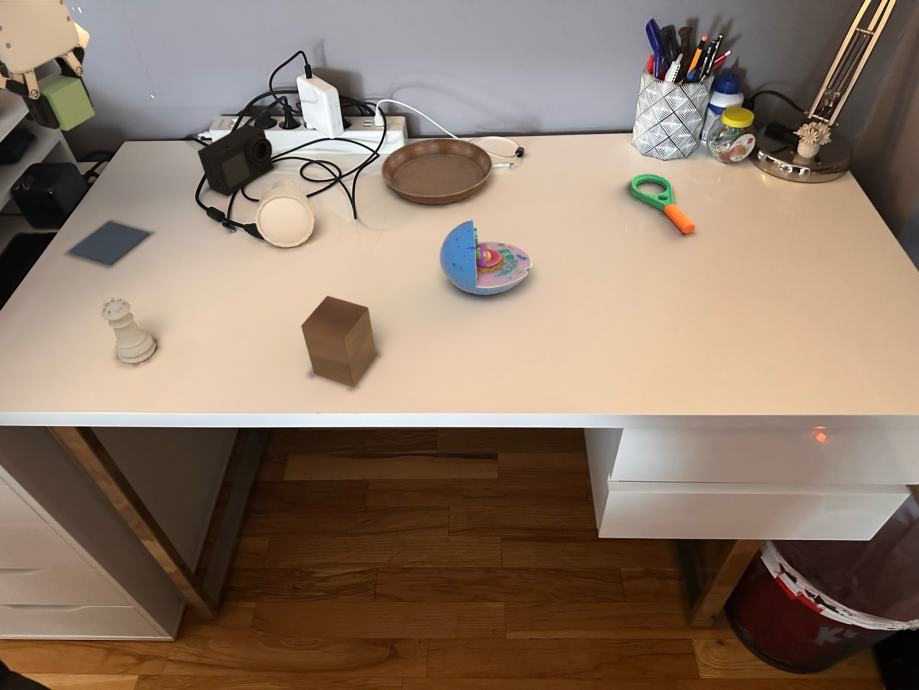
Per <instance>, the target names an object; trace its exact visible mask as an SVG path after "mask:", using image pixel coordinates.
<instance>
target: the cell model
mask: <svg viewBox="0 0 919 690" xmlns="http://www.w3.org/2000/svg"><path fill="white" fill-rule="evenodd" d="M474 223H475V222H474V220H473V219H470V220H467V221H463V222H462V223H460V224H458V225H457V226H456V227H454V228H452V229H451V230H450V232H448V234H447V235H446V237H445V238H444V239H443V241H442V244H441V246H440V249H439V264H440V267H441V270H442V272H443V274H444V275H445V277H446V278H447V279H448V280H449V282H450V283H451V284H452V285H454V286H455V287H456V288H458V289H460V290H462V291H463V292H467V293H468V294H469V293H470V294H474V295H479V296H481V295H482V296H489V295H496V294H499V293H503V292H506V291H508V290H510V289H512V288H514V287H515V286H517V285H518V284H520V283H521V282H522V281H523V280H524V279H526V277H527V276H528V274H529V272H530V270H531V268H532V264H533V261H532V258H531V256H530V255H529V253H527V252H526V251H525V250H524V249H523V248H524V247H522V246H519V247H518V246H517V245H513V244H510V243H505V242H499V241H479V232H478V227H475V225H474Z"/></svg>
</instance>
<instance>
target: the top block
mask: <svg viewBox="0 0 919 690" xmlns="http://www.w3.org/2000/svg"><path fill="white" fill-rule="evenodd" d="M36 81H37V84H38V88H39V92H40V95H44V96H46V97H47V99H48V101H49V103H50V105H51V107H52V109H53V111H54V113H55V116H56V118H57V120H58V122H59V124H60V127H59V128H58V129H57V130H62V131H66V132H68V131H70V130H72V129H73V128H75V127H77V126H78V125H80V124H82V123H84V122H86V121H87V120H89V119H91V118H93V117H94V116H96V113H95V109H94V107H93V108H92V106H91V103H90V101H89V99H88V97H87V94H86V92H85V90H84V87H83V85H82V83H81V81H80V79H77V78H72V77H67V76H62V75H59V74H58V73H51V74H49V75H47V76H45V77H43V78H41V79H39V80H36Z"/></svg>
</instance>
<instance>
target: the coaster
mask: <svg viewBox="0 0 919 690" xmlns="http://www.w3.org/2000/svg"><path fill="white" fill-rule="evenodd" d="M150 235H151V233H150V232H148V231H145V230H141V229H138V228H134V227H130V226H127V225H123V224H120V223H116V222H113V221H107V222H106V223H104V224H103V225H102V226H101V227H99V228H98V229H96V230H95V231H94V232H92V233H91V234H90V235H88V236H87V237H86V238H84V239H83V240H81V241H80V242H79V243H78V244H76V245H75V246H73V247H72V248H71V249H69V250H68V253H69V254H71V255H75V256H77V257H82V258H85V259H88V260H91V261H94V262H98V263H101V264H105V265H107V266H113V265H114V264H115V263H116V262H118V261H119V260H120V259H122V258H123V257H124V256H126V255H127V254H128V253H129V252H131V250H133V249H134V248H135V247H137V245H139V244H140V243H142V241H145V239H147V238H148V237H149V236H150Z"/></svg>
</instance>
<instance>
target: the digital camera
mask: <svg viewBox="0 0 919 690" xmlns="http://www.w3.org/2000/svg"><path fill="white" fill-rule="evenodd" d="M197 155H198V158H199V160H200V164H201V166H202V169H203V172H204V176H205V178H206V181H207V184H208V186H209V187H208V188H209V190H211V191H213V192H215V193H219V194H221V195H223V196H226V197H229V196H230V195H233V194H234V193H236V192H238V191H239V190H241V189H242V188H244V187H246V186H247V185H249V184H250V183H252V182H253V181H255V180H257V179H258V178H261V177H262V176H263V175H264V174H267V172H269V171H271V170H272V169H274V163H273V160H272V159H273V158H272V155H273V145H272V143H271V141H270V140H269V139H268V138H267V135H266V132H265V129H263V128H260V127H257V126H255V125H251V124H248V123H245V124H244V125H242V126H240V127H238V128H236V129H235V130H232V131H231V132H229V133H227V134H225V135H224V136H222V137H220V138H218V139H216V140H215V141H213V142H211V143H209V144H208V145H206V146H204V147H202V148H200V149H199V150H197Z"/></svg>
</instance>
